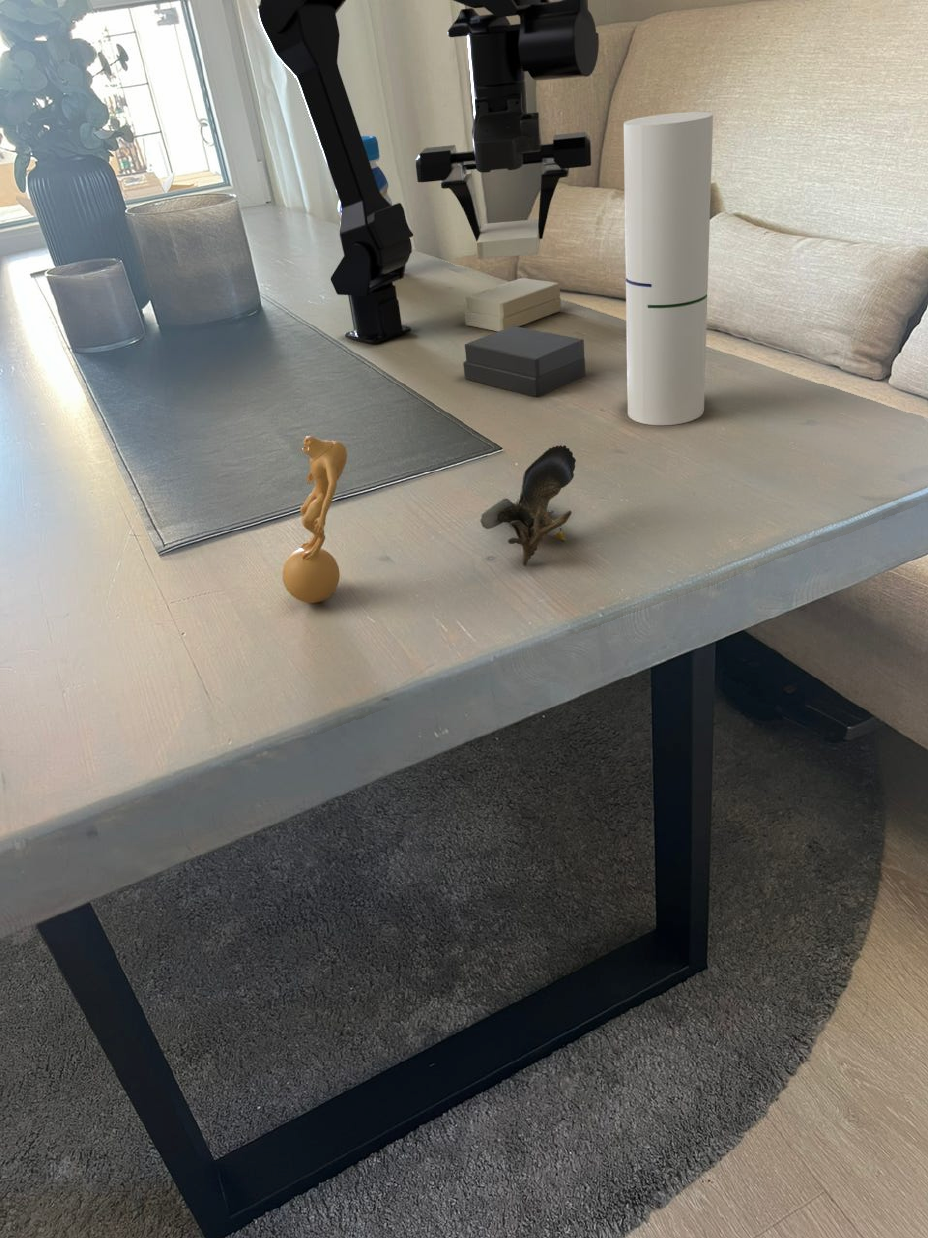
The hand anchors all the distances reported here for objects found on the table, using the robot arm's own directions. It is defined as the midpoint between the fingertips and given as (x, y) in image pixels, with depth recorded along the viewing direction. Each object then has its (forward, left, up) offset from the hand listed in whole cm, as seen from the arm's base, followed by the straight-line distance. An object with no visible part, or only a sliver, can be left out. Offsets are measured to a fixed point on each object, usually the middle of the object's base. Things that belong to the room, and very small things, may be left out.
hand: (509, 240), depth 107 cm
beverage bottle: (-48, +15, -12) cm, 52 cm away
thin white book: (0, 0, -1) cm, 1 cm away
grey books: (+9, -8, -12) cm, 17 cm away
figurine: (+30, -49, -12) cm, 59 cm away
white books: (-9, +8, -12) cm, 17 cm away
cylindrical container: (+28, -8, -12) cm, 32 cm away
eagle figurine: (+36, -34, -12) cm, 51 cm away
